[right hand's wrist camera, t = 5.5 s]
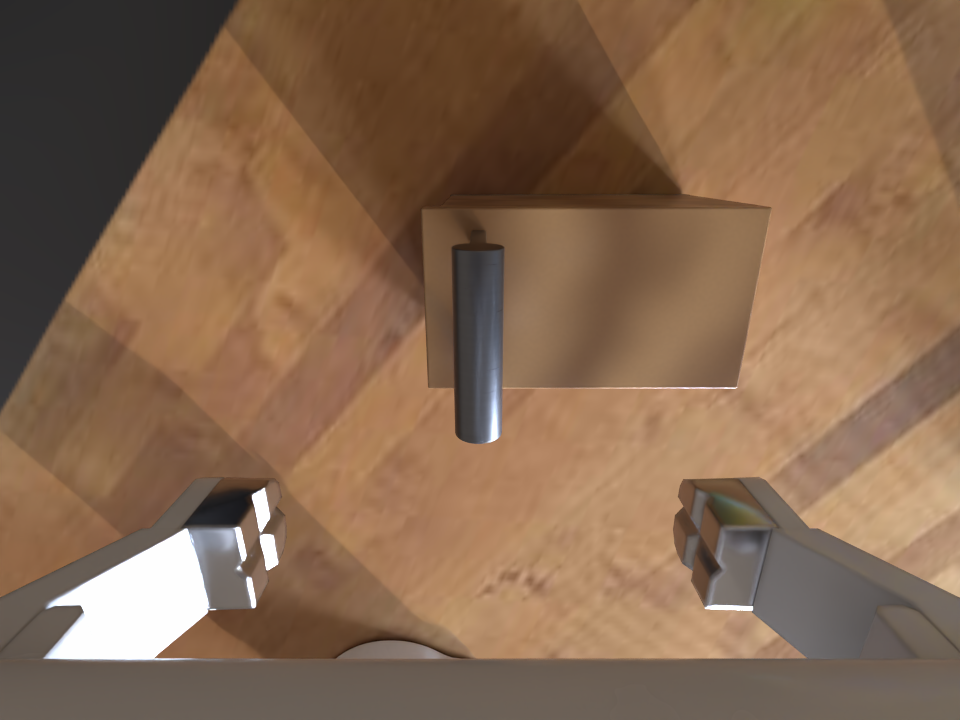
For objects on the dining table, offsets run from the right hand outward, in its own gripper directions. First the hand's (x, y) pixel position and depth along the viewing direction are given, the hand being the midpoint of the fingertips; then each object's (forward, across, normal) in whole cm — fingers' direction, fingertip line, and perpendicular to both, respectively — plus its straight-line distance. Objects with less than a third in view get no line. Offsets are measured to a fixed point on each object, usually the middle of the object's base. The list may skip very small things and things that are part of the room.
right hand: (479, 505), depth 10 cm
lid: (+17, -5, 0) cm, 18 cm away
